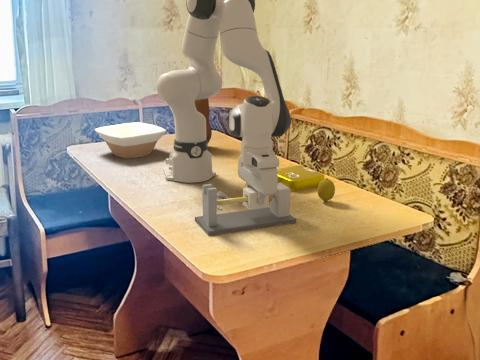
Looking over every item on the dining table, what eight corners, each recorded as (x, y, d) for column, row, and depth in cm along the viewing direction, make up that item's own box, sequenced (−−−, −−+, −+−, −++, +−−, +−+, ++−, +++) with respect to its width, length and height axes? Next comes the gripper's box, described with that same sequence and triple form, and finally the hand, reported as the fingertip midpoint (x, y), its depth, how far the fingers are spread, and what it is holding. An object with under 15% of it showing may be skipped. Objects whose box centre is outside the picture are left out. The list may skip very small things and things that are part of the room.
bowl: (90, 153, 245) (89, 128, 242) (140, 144, 261) (139, 121, 258) (120, 165, 228) (119, 138, 225) (172, 154, 244) (171, 129, 241)
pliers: (220, 206, 180) (201, 192, 193) (220, 211, 180) (201, 197, 193) (248, 202, 184) (228, 189, 197) (248, 207, 184) (228, 193, 197)
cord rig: (194, 220, 172) (194, 181, 168) (277, 209, 182) (279, 172, 178) (208, 235, 161) (208, 194, 157) (295, 222, 171) (297, 183, 167)
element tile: (326, 186, 206) (327, 173, 204) (292, 193, 198) (292, 180, 197) (299, 175, 218) (300, 163, 216) (266, 182, 210) (267, 169, 209)
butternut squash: (176, 147, 256) (175, 90, 249) (204, 144, 262) (203, 88, 255) (188, 154, 244) (187, 94, 237) (217, 151, 250) (217, 92, 243)
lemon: (313, 200, 190) (315, 176, 188) (328, 198, 192) (330, 175, 190) (322, 205, 185) (323, 181, 183) (337, 203, 187) (338, 179, 185)
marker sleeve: (242, 204, 172) (243, 188, 171) (261, 202, 174) (261, 186, 173) (249, 209, 168) (249, 193, 166) (268, 207, 170) (269, 191, 169)
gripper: (232, 147, 175) (232, 191, 179) (261, 164, 157) (260, 213, 161) (252, 145, 177) (251, 189, 181) (282, 162, 159) (280, 210, 163)
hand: (255, 200), depth 171 cm, fingers closed on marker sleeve, 5 cm apart
